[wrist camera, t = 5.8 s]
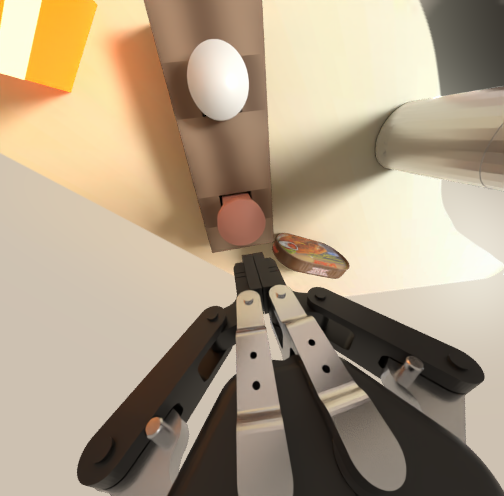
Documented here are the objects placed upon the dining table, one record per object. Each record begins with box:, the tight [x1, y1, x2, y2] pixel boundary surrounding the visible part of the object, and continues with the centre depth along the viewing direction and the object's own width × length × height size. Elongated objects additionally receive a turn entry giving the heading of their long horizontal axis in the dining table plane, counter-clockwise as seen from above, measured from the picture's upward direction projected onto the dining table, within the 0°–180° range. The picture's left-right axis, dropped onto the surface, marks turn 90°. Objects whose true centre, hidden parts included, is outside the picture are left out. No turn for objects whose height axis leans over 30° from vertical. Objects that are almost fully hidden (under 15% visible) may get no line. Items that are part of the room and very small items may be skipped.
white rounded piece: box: [187, 39, 249, 121], centre depth 20 cm, size 6×6×6 cm
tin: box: [272, 233, 349, 279], centre depth 34 cm, size 15×3×8 cm, turn 70°
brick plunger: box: [217, 192, 266, 246], centre depth 24 cm, size 6×6×6 cm
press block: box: [144, 0, 274, 253], centre depth 24 cm, size 10×26×5 cm, turn 6°
